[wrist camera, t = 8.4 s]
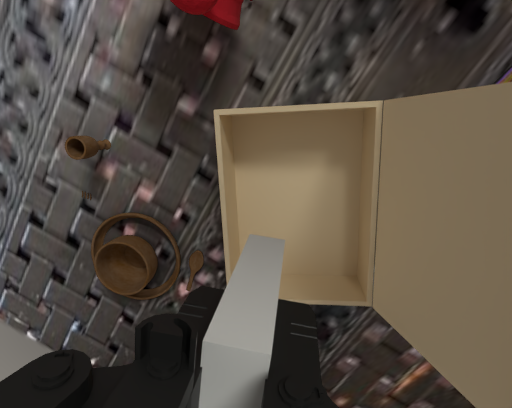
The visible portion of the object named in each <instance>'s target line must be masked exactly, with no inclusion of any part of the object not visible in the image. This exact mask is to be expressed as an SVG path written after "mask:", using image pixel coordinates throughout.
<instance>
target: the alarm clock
mask: <svg viewBox="0 0 512 408" xmlns="http://www.w3.org/2000/svg"><path fill="white" fill-rule="evenodd" d="M170 1H171V2H172V3H173V4H174V5H175V6H177V7H178V8H179V9H181V10H182V11H184V12H186V13H189V14H193V15H201V14H202V15H204V16H206V17H208V18H210V19H212V20H213V21H215V22H217V23H219V24H221V25H224V26H226V27H228V28H231V29H235V30H237V29H238V27H239V25H240V12H241V5H242V3H243V0H170ZM250 1H253V0H250Z"/></svg>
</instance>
